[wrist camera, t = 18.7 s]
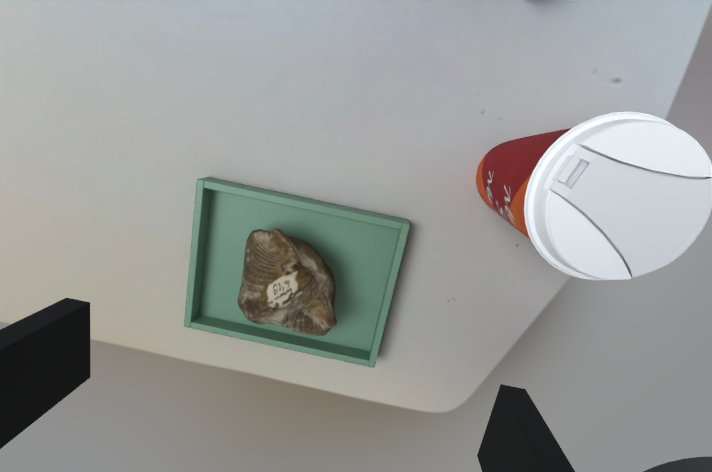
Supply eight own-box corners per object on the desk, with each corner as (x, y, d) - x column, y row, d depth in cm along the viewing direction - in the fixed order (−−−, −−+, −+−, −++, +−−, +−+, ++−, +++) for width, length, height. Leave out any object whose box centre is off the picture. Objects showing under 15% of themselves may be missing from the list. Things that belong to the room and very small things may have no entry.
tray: (408, 219, 30) (410, 224, 28) (374, 355, 33) (374, 368, 31) (207, 176, 30) (196, 178, 28) (194, 316, 33) (183, 326, 32)
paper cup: (443, 195, 29) (500, 238, 16) (497, 107, 27) (615, 71, 14) (524, 241, 30) (646, 321, 16) (583, 158, 28) (776, 170, 14)
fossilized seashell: (360, 330, 30) (331, 211, 29) (303, 369, 24) (267, 225, 24) (298, 329, 34) (272, 227, 34) (240, 361, 29) (207, 241, 28)
